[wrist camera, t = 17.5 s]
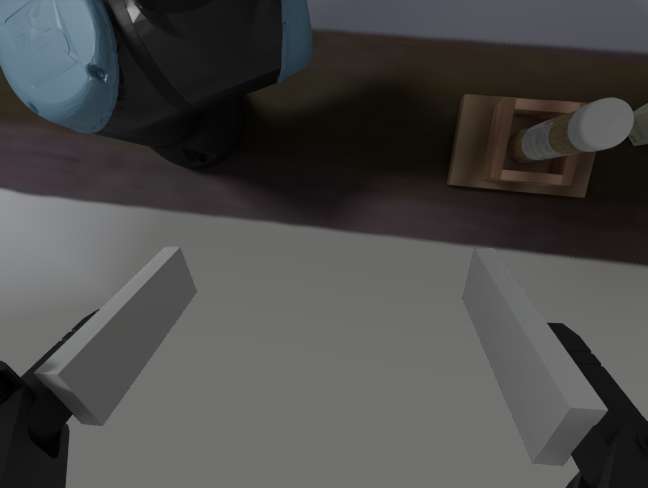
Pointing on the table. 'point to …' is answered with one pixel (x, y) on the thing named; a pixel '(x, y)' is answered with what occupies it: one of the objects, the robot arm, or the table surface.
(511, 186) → the collar plate
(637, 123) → the skincare box
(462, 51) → the table surface
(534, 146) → the sprinkles bottle
